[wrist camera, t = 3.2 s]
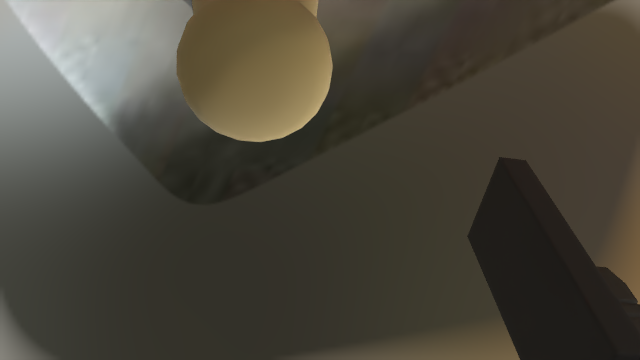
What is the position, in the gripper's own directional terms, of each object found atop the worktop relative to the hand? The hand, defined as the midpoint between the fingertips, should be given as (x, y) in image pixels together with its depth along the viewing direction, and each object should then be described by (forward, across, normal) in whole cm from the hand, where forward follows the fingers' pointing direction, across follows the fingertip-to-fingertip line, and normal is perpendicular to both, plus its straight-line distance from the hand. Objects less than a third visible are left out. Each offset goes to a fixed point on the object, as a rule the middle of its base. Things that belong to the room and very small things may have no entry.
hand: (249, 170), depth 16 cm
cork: (+16, 0, 0) cm, 16 cm away
